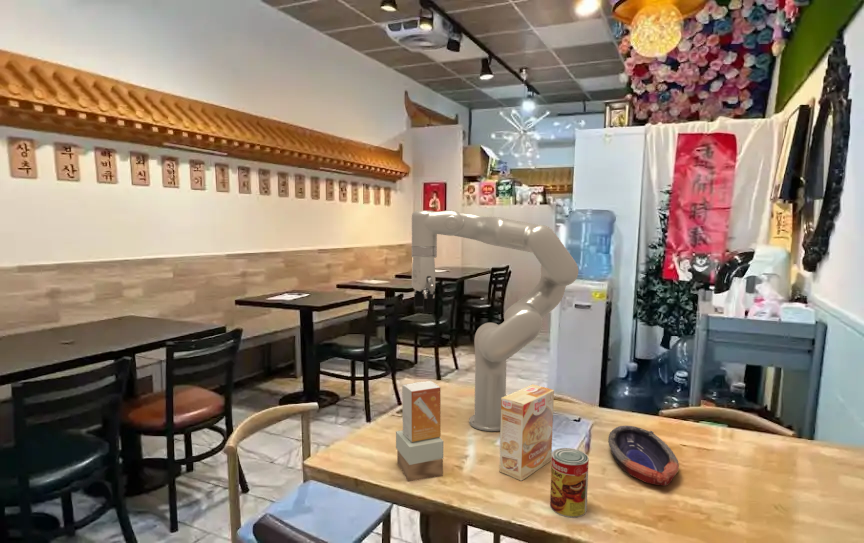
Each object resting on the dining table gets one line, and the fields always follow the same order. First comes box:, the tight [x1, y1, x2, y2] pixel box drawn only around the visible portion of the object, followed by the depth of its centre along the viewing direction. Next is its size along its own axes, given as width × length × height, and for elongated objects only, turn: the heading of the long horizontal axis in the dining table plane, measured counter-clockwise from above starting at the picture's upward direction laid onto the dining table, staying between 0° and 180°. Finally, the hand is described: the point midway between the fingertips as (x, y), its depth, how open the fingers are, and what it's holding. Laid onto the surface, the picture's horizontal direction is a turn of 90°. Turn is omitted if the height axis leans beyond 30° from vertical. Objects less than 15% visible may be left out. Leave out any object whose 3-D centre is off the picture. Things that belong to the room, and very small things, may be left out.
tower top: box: [395, 429, 444, 465], centre depth 132 cm, size 9×10×4 cm
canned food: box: [549, 447, 590, 518], centre depth 115 cm, size 8×8×12 cm
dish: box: [608, 425, 680, 487], centre depth 137 cm, size 16×31×5 cm, turn 172°
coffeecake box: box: [498, 383, 555, 481], centre depth 134 cm, size 15×7×20 cm, turn 137°
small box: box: [401, 380, 442, 442], centre depth 131 cm, size 8×6×13 cm
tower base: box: [396, 449, 444, 482], centre depth 133 cm, size 9×10×4 cm
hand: (423, 308), depth 157 cm, fingers open, 9 cm apart
